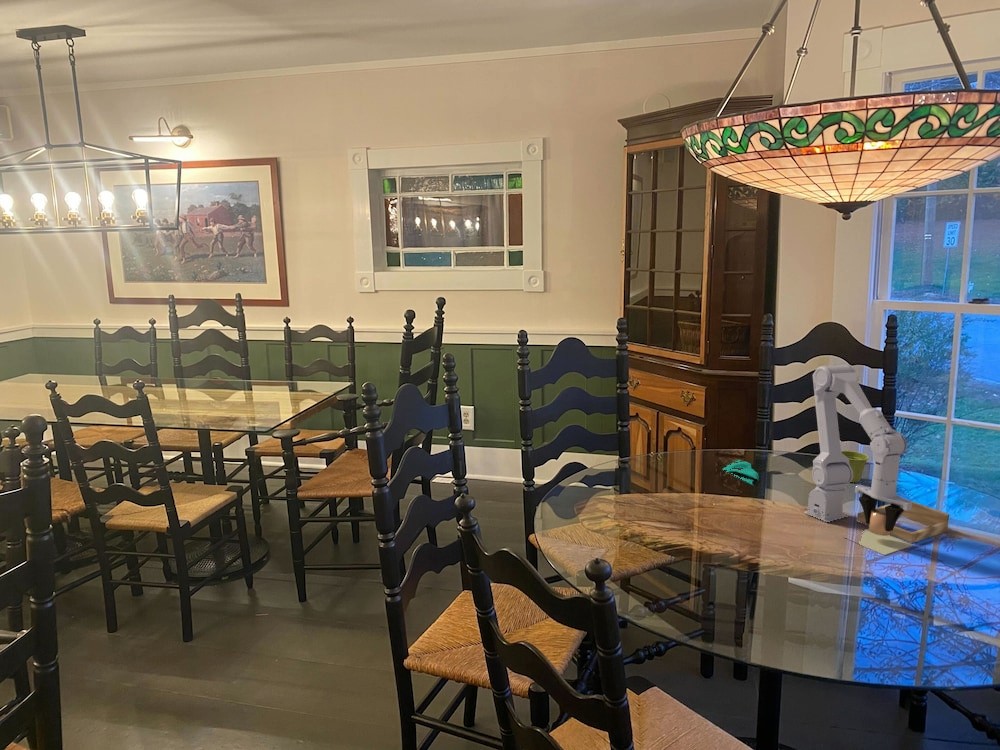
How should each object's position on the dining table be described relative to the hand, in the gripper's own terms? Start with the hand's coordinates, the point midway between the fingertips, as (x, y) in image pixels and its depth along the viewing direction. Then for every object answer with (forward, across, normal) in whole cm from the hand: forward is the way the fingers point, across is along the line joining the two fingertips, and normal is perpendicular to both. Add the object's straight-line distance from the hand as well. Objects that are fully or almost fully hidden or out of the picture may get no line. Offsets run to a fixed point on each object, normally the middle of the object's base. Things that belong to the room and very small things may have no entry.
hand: (879, 526), depth 184 cm
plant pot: (+4, +34, -36) cm, 50 cm away
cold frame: (+4, +3, -15) cm, 16 cm away
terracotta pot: (+2, 0, 0) cm, 2 cm away
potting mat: (+4, 0, 0) cm, 4 cm away
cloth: (+5, +57, -11) cm, 58 cm away
